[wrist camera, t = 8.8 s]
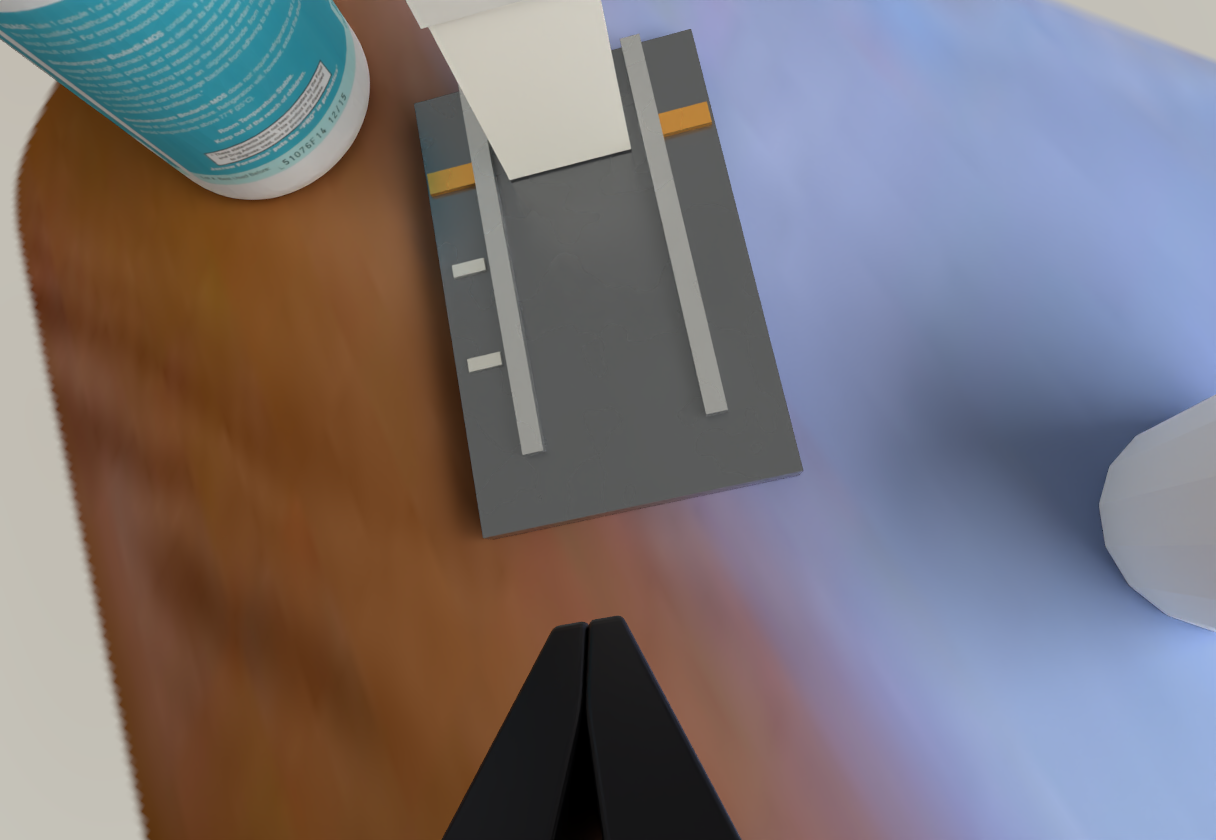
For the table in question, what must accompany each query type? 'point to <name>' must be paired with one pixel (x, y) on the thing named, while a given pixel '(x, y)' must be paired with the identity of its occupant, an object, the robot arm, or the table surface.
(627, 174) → the console
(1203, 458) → the white cylinder
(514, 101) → the fader tab
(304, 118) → the pill bottle
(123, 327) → the table surface
